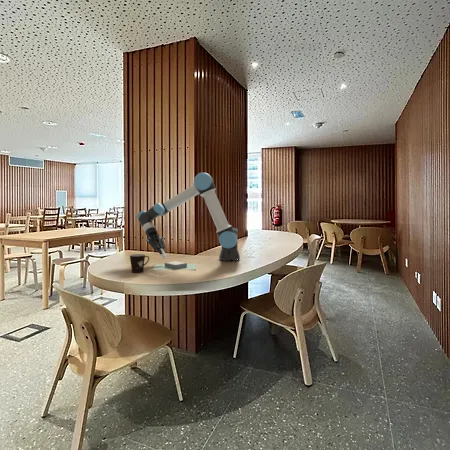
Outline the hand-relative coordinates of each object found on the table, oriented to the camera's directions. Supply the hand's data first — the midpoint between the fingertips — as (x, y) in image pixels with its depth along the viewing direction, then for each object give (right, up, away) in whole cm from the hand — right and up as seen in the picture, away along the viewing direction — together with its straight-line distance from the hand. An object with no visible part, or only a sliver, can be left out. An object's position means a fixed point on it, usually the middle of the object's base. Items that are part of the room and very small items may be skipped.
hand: (165, 257), depth 202 cm
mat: (+7, -6, -5) cm, 11 cm away
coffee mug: (-11, -7, -18) cm, 22 cm away
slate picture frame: (+4, -4, -3) cm, 6 cm away
